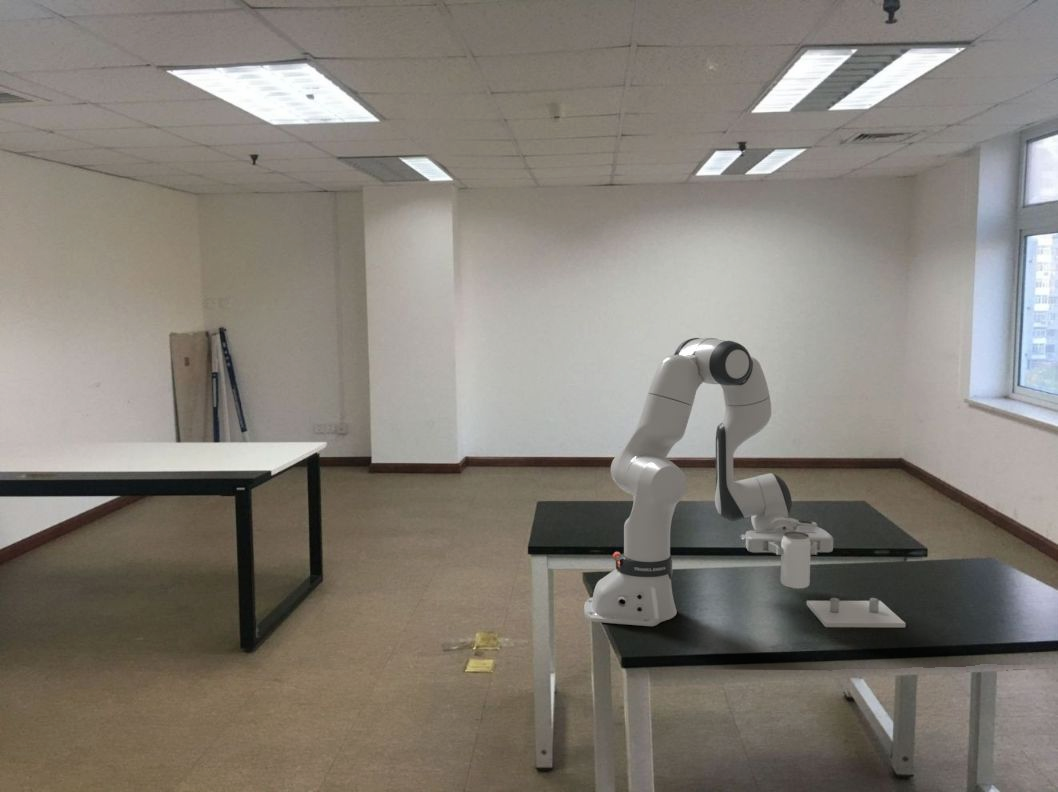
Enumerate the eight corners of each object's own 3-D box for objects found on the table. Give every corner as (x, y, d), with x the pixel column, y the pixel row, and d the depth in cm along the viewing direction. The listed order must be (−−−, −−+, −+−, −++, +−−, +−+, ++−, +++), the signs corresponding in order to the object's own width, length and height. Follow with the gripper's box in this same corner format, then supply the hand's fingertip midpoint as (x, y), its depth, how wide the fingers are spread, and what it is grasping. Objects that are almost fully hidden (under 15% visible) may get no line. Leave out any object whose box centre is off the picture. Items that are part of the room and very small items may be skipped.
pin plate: (825, 627, 176) (825, 610, 175) (806, 604, 190) (806, 588, 189) (905, 627, 175) (905, 610, 174) (880, 604, 189) (880, 589, 188)
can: (814, 584, 179) (816, 534, 177) (801, 591, 174) (802, 541, 173) (788, 577, 184) (790, 529, 182) (775, 584, 179) (776, 535, 178)
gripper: (738, 522, 191) (752, 538, 177) (821, 522, 190) (841, 538, 176) (738, 546, 192) (751, 564, 178) (821, 546, 191) (841, 564, 177)
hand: (797, 551), depth 177 cm, fingers closed on can, 6 cm apart
